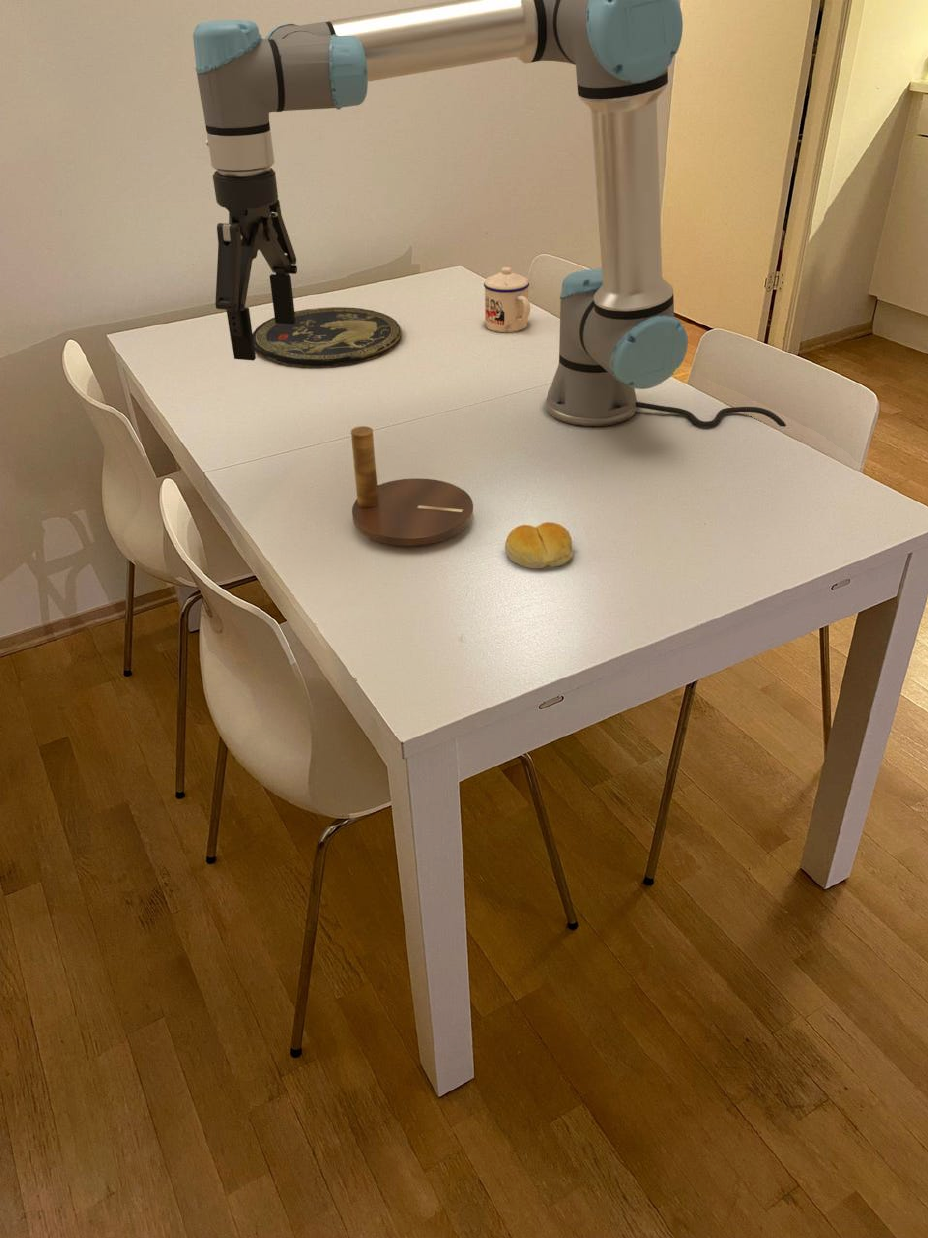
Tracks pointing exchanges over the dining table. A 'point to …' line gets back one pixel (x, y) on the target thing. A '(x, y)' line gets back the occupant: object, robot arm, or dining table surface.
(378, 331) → the decorative plate
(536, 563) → the bread roll
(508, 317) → the teacup with lid
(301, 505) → the dining table surface
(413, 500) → the turntable
